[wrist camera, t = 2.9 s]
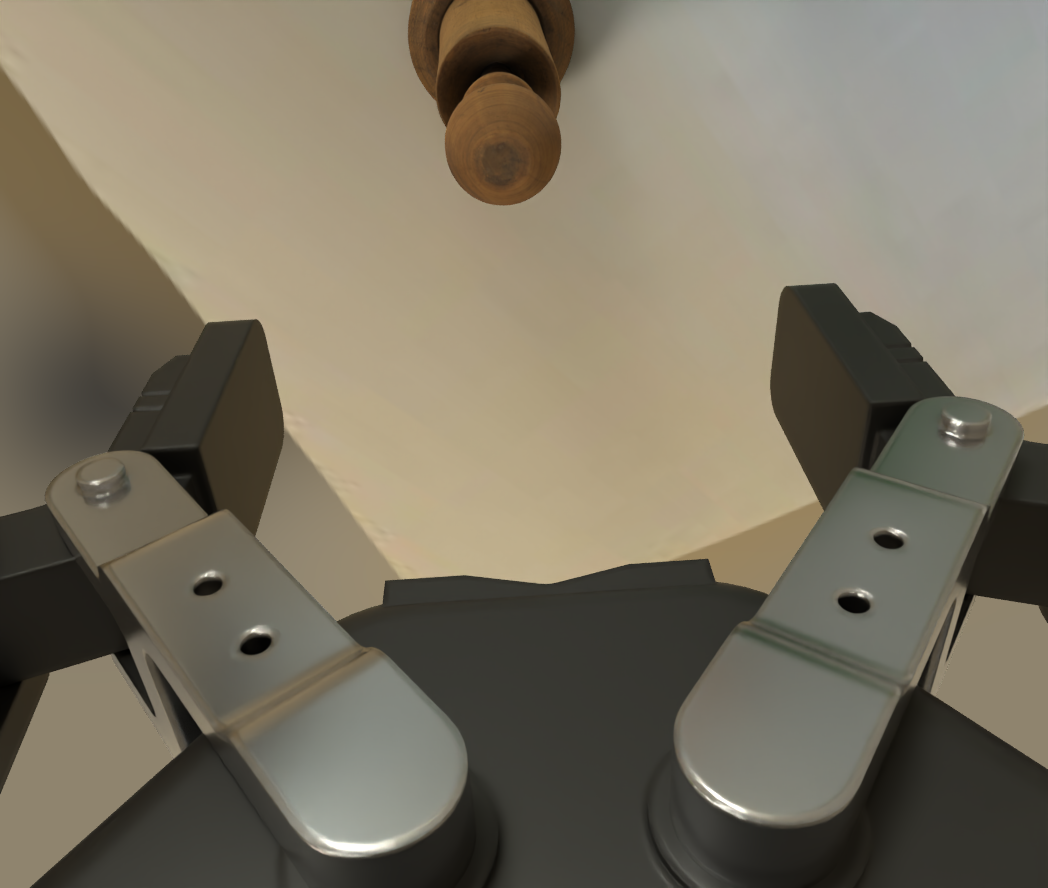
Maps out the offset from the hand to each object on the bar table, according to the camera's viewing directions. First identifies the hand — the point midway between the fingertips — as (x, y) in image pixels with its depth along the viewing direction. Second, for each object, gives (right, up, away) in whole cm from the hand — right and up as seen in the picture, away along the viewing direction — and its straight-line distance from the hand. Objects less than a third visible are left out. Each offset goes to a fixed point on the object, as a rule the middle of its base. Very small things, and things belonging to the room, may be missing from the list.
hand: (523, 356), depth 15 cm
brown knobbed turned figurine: (-1, +16, +24) cm, 28 cm away
